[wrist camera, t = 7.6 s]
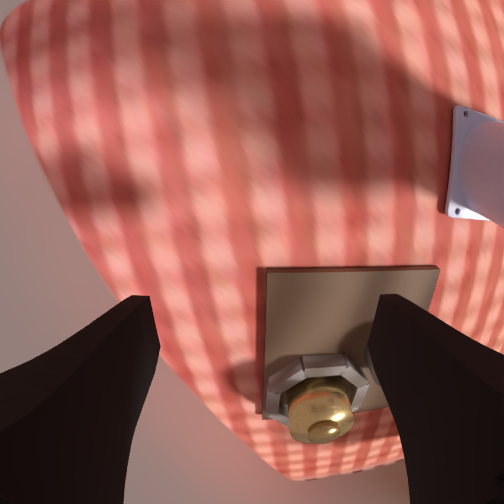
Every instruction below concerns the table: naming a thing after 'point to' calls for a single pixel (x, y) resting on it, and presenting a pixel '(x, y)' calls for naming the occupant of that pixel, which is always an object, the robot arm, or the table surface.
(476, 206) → the robot arm
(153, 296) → the table surface
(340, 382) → the brass knob
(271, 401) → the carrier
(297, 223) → the table surface
